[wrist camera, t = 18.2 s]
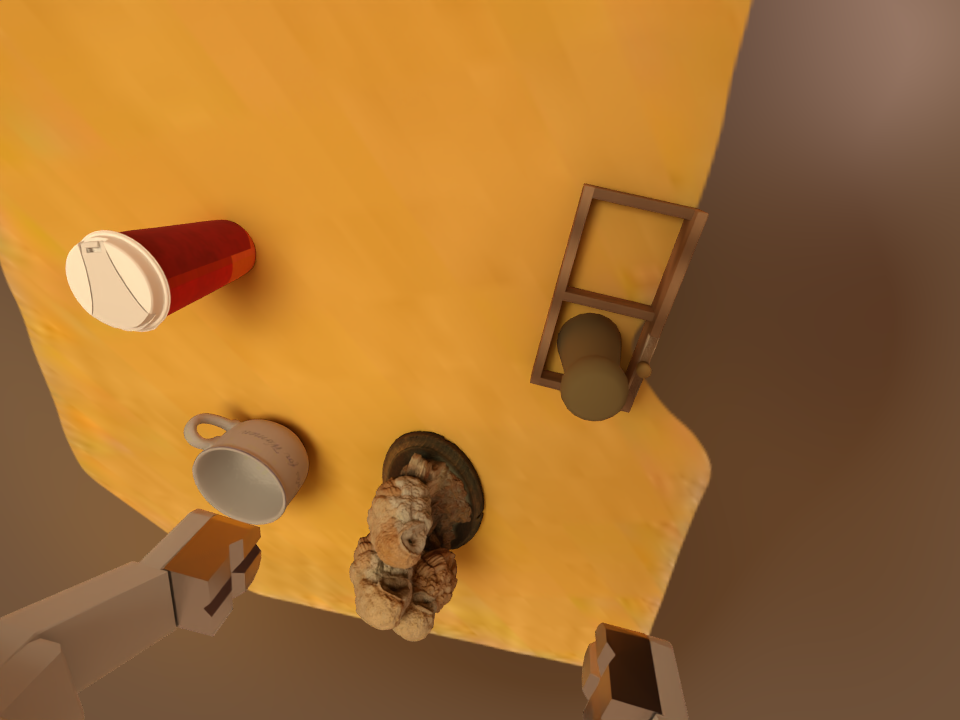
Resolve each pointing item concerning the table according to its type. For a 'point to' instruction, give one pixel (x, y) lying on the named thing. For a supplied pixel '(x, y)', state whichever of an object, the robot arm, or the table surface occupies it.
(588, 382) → the cork
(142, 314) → the paper cup
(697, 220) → the wooden divided frame
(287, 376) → the table surface
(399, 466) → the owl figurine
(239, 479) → the teacup
